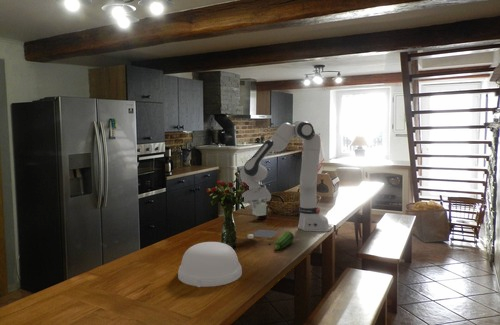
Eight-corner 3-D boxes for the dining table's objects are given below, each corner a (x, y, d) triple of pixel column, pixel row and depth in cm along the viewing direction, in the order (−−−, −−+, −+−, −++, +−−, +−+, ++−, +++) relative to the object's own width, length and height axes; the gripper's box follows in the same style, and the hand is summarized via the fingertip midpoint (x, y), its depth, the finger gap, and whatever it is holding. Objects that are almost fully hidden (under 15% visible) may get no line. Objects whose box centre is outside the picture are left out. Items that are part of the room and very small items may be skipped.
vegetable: (292, 228, 231) (278, 237, 214) (297, 239, 230) (284, 249, 213) (282, 232, 234) (267, 241, 217) (287, 243, 234) (273, 254, 216)
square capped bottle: (261, 212, 249) (261, 198, 249) (266, 214, 244) (266, 199, 243) (252, 213, 247) (252, 199, 246) (257, 216, 241) (257, 200, 240)
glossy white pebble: (254, 238, 241) (254, 234, 241) (252, 240, 238) (252, 236, 237) (248, 237, 242) (248, 234, 242) (246, 239, 239) (246, 235, 239)
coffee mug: (268, 217, 296) (268, 204, 295) (267, 219, 287) (267, 206, 286) (253, 217, 297) (252, 204, 296) (252, 219, 288) (251, 206, 287)
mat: (279, 232, 254) (279, 231, 254) (271, 238, 239) (271, 237, 239) (259, 230, 259) (259, 229, 259) (249, 236, 244) (249, 235, 244)
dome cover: (192, 260, 204) (191, 234, 202) (248, 264, 197) (248, 236, 196) (166, 285, 173) (165, 254, 171) (231, 290, 166) (231, 258, 165)
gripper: (239, 187, 245) (246, 205, 237) (267, 185, 254) (275, 202, 247) (236, 193, 249) (243, 211, 242) (264, 190, 259) (271, 208, 251)
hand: (259, 207), depth 244 cm, fingers closed on square capped bottle, 6 cm apart
